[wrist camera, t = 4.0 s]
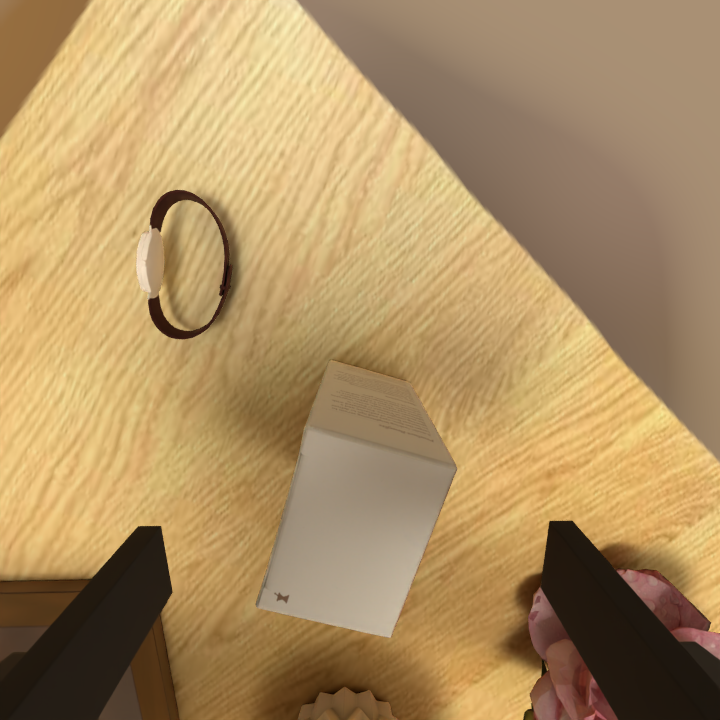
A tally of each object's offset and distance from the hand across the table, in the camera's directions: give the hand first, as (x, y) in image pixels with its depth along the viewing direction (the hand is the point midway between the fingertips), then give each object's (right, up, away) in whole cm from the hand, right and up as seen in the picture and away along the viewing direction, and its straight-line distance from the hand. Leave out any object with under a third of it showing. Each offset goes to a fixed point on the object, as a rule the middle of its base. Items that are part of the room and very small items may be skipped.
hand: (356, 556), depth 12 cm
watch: (-9, +12, +9) cm, 18 cm away
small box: (0, +3, +11) cm, 11 cm away
